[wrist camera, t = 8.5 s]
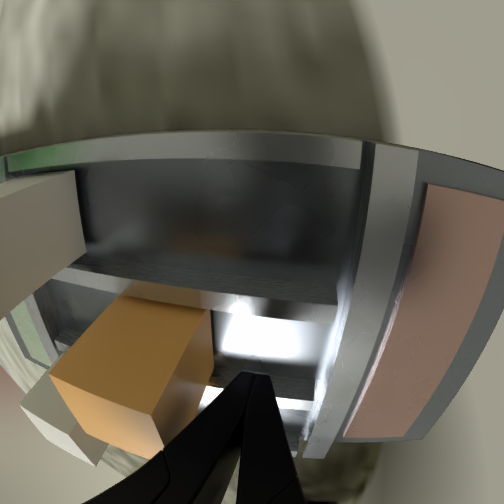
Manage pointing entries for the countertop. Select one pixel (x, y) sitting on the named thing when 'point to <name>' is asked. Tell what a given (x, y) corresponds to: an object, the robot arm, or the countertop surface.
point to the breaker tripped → (138, 373)
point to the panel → (288, 266)
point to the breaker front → (37, 233)
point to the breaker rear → (60, 421)
